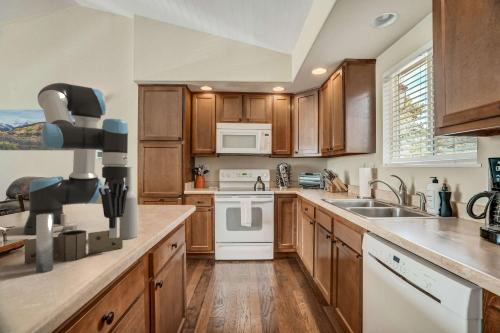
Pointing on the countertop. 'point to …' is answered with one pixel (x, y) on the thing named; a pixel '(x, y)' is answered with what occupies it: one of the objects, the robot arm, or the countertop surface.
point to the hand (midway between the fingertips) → (114, 237)
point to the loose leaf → (104, 241)
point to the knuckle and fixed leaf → (61, 247)
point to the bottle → (129, 210)
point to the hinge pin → (44, 243)
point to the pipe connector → (64, 225)
